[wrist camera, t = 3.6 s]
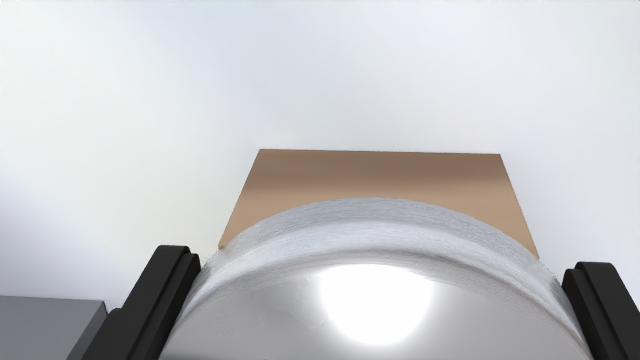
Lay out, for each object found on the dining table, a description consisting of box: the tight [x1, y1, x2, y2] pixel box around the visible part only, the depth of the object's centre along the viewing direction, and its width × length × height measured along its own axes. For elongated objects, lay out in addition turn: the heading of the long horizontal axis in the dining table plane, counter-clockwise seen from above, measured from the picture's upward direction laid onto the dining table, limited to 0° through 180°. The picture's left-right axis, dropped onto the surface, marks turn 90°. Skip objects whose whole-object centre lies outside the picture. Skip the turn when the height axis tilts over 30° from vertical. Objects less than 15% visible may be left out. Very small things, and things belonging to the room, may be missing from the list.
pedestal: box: [218, 149, 539, 259], centre depth 12 cm, size 5×5×4 cm
